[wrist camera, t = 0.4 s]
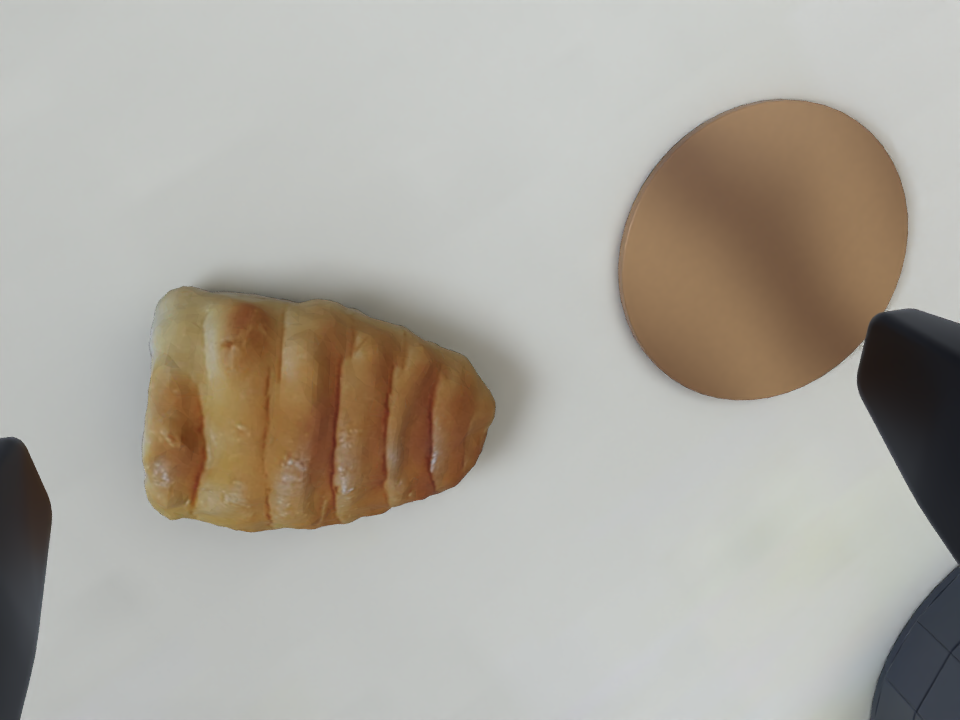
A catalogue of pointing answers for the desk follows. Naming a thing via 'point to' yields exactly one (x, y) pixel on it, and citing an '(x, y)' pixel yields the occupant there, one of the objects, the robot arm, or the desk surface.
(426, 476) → the pastry
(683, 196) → the coaster
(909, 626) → the pan
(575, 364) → the desk surface
